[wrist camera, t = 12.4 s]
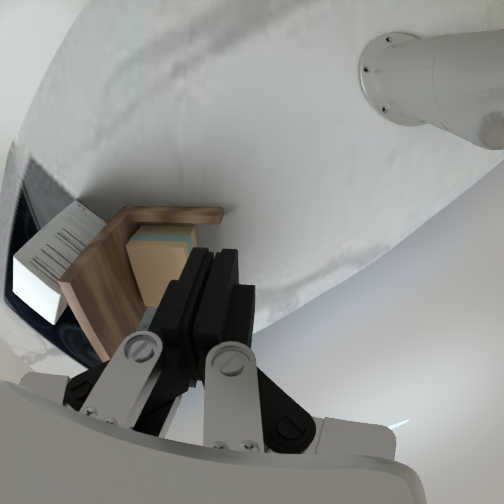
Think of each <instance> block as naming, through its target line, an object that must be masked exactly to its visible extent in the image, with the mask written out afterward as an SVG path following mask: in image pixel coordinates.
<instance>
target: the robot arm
mask: <svg viewBox="0 0 504 504" xmlns="http://www.w3.org/2000/svg"><path fill="white" fill-rule="evenodd" d="M386 39H388V42H387V41H386ZM364 68H366V69H367V71H366V72H365V71H364ZM359 80H360V84H361V87H362V90H363V92H364V95H365V97H366V98H367V100H368V101H369V103H370V104H371V106H372V107H373V108H374V109H375V110H376V111H377V112H378V113H379V114H381V115H382V116H383V117H384V118H386V119H388V120H390V121H392V122H394V123H397V124H400V125H404V126H418V125H423V124H425V123H429V124H431V125H434V126H436V127H439V128H441V129H443V130H445V131H448V132H450V133H452V134H454V135H456V136H458V137H460V138H463V139H465V140H466V141H469V142H471V143H473V144H475V145H477V146H479V147H482V148H485V149H490V150H502V149H504V29H500V30H492V31H482V32H473V33H462V34H452V35H444V36H437V37H430V38H424V39H418V38H416V37H413V36H411V35H408V34H403V33H389V34H385V35H382V36H379V37H377V38H376V39H374V40H373V41H371V42H370V43H369V44H368V45H367V46H366V48H365V50H364V51H363V53H362V55H361V59H360V62H359ZM383 107H384V111H382V108H383ZM254 313H255V285H242V284H239V272H238V250H237V249H222V251H221V252H217V253H216V256H215V259H214V253H213V252H209V250H208V248H200V247H193V248H192V250H191V253H190V255H189V257H188V259H187V262H186V264H185V266H184V268H183V271H182V273H181V275H180V277H179V280H173V279H172V280H171V281H170V282H169V284H168V286H167V288H166V290H165V293H164V295H163V297H162V299H161V301H160V304H159V306H158V308H157V311H156V313H155V315H154V317H153V320H152V322H151V324H150V327H149V329H148V331H138V332H135V333H132V334H130V335H129V336H127V337H126V338H125V339H124V340H123V342H122V343H121V345H120V346H119V348H118V349H117V351H116V352H115V354H114V355H113V357H112V359H110V360H108V361H106V362H104V363H102V364H99V365H97V366H95V367H93V368H91V369H89V370H87V371H85V372H83V373H81V374H79V375H77V376H75V377H74V378H72V379H70V378H69V376H62V375H52V374H44V373H36V372H30V373H28V374H26V375H25V376H24V377H23V378H22V379H21V381H20V383H19V385H17V384H15V383H12V382H8V381H4V380H0V504H427V502H426V497H425V492H424V488H423V485H422V482H421V480H420V478H419V476H418V475H417V473H416V472H415V471H414V470H413V469H411V468H410V467H408V466H406V465H404V464H402V463H399V462H397V461H394V457H395V450H396V437H395V435H394V433H393V431H392V430H390V429H389V428H388V427H386V426H382V425H375V424H367V423H360V422H353V421H345V420H340V419H334V418H328V417H325V419H322V418H316V417H312V416H311V415H310V414H309V413H308V412H307V411H305V410H304V409H303V408H302V407H301V406H300V405H298V404H297V403H296V402H295V401H294V400H293V399H292V398H291V397H289V396H288V395H287V394H286V393H285V392H284V391H283V390H282V389H280V388H279V387H278V386H277V385H276V384H275V383H274V382H273V381H272V380H271V379H270V378H268V377H267V376H266V375H265V374H264V373H263V372H262V371H261V370H260V369H259V368H258V367H257V366H256V358H255V355H254V353H253V351H252V350H251V342H252V333H253V324H254ZM197 380H199V381H201V380H202V383H203V386H204V390H205V393H204V396H205V397H204V436H203V446H198V445H193V444H187V443H182V442H177V441H173V440H168V439H164V438H165V435H166V433H167V431H168V429H169V426H170V424H171V422H172V419H173V417H174V415H175V413H176V410H177V408H178V406H179V404H180V401H181V398H182V394H183V393H185V392H187V391H188V388H189V387H194V388H195V387H196V383H197Z"/></svg>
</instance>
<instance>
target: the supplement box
mask: <svg viewBox="0 0 504 504" xmlns="http://www.w3.org/2000/svg"><path fill="white" fill-rule="evenodd" d="M106 224H107V223H106V222H105V221H103V220H102V219H101V218H99V217H98V216H97V215H95V214H94V213H93V212H91V211H90V210H89V209H87V208H86V207H85V206H83V205H82V204H81V203H79V202H78V201H77V200H75V201H74V202H73V203H71V204H70V205H69V206H68V207H67V208H65V209H64V210H63V211H62V212H60V213H59V214H58V215H57V216H56V217H55V218H53V219H52V220H51V221H50V222H49V223H48V224H47V225H46V226H45V227H44V228H43V229H41V230H40V231H39V232H38V233H37V234H36V235H35V236H33V237H32V238H31V239H30V240H29V241H28V242H27V243H26V244H25V245H24V246H23V247H22V248H21V249H20V250H19V251H18V252H17V253H16V254H15V255H14V258H13V260H14V262H13V292H14V293H15V294H16V295H17V296H19V297H20V298H21V299H22V300H23V301H24V302H25V303H27V304H28V305H29V306H30V307H32V308H33V309H34V310H35V311H36V312H38V313H39V314H40V315H41V316H43V317H44V318H45V319H46V320H48V321H49V322H50V323H52V324H54V325H55V323H56V322H57V320H58V319H59V317H60V316H61V314H62V313H63V311H64V310H65V308H66V307H67V305H68V304H69V303H68V301H67V300H66V298H65V296H64V293H63V291H62V289H61V287H60V285H59V283H58V280H59V279H60V277H61V276H62V275H63V274H64V272H65V271H66V270H67V269H68V267H69V266H70V265H71V264H72V263H73V261H74V260H75V259H76V258H77V257H78V256H79V254H80V253H81V252H82V251H83V250H84V249H85V247H86V246H87V245H88V244H89V243H90V242H91V241H92V240H93V238H94V237H95V236H96V235H97V234H98V233H99V232H100V231H101V230H102V229H103V228H104V226H105V225H106Z"/></svg>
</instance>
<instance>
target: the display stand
mask: <svg viewBox="0 0 504 504" xmlns="http://www.w3.org/2000/svg"><path fill="white" fill-rule="evenodd" d="M222 218H223V208H202V207H123V208H122V209H121V210H120V211H119V212H118V213H117V214H116V215H115V216H114V217H113V218H112V219H111V220H110V221H109V222H108V223H107V224H106V225H105V226H104V228H103V229H102V230H101V231H100V232H99V233H98V234H97V235H96V236H95V237H94V238H93V240H92V241H91V242H90V243H89V244H88V245H87V246H86V247H85V249H84V250H83V251H82V252H81V253H80V254H79V256H78V257H77V258H76V259H75V260H74V261H73V263H72V264H71V265H70V266H69V267H68V269H67V270H66V271H65V272H64V274H63V275H62V276H61V277H60V279H59V280H58V283H59V285H60V287H61V289H62V291H63V293H64V296H65V298H66V300H67V301H68V303H69V305H70V307H71V309H72V311H73V313H74V315H75V317H76V318H77V320H78V322H79V324H80V326H81V327H82V329H83V331H84V333H85V334H86V336H87V338H88V339H89V341H90V343H91V344H92V346H93V348H94V349H95V351H96V352H97V354H98V355H99V357H100V359H101V360H102V362H103V363H104V362H106V361H108V360H110V359H112V357H113V355H114V354H115V352H116V351H117V349H118V348H119V346H120V345H121V343H122V342H123V340H124V339H125V338H126V337H127V336H129V335H130V334H132V333H135V332H136V330H137V328H138V326H139V324H140V322H141V319H142V317H143V315H144V313H145V311H146V309H147V307H148V306H145V304H144V301H143V299H142V296H141V293H140V290H139V287H138V284H137V281H136V278H135V275H134V272H133V269H132V266H131V262H130V259H129V256H128V253H127V249H126V245H127V243H128V242H129V241H130V238H131V237H132V236H133V235H134V233H136V231H137V230H138V229H139V228H138V224H137V222H168V223H201V224H220V223H221V221H222Z"/></svg>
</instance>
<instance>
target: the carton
mask: <svg viewBox="0 0 504 504" xmlns="http://www.w3.org/2000/svg"><path fill="white" fill-rule="evenodd" d="M193 247H197V240H196V233H195V226H140V228H139V229H138V230H137V231H136V233H134V235H133V236H132V237H131V238H130V241H129V242H128V243H127V245H126V249H127V253H128V256H129V259H130V262H131V266H132V269H133V272H134V275H135V278H136V281H137V284H138V287H139V290H140V293H141V296H142V299H143V301H144V304H145V306H148V307H157V308H158V306H159V304H160V301H161V299H162V297H163V295H164V293H165V290H166V288H167V286H168V284H169V282H170V281H171V280H172V279H173V280H179V277H180V275H181V273H182V271H183V268H184V266H185V264H186V262H187V259H188V257H189V255H190V253H191V250H192V248H193Z"/></svg>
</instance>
